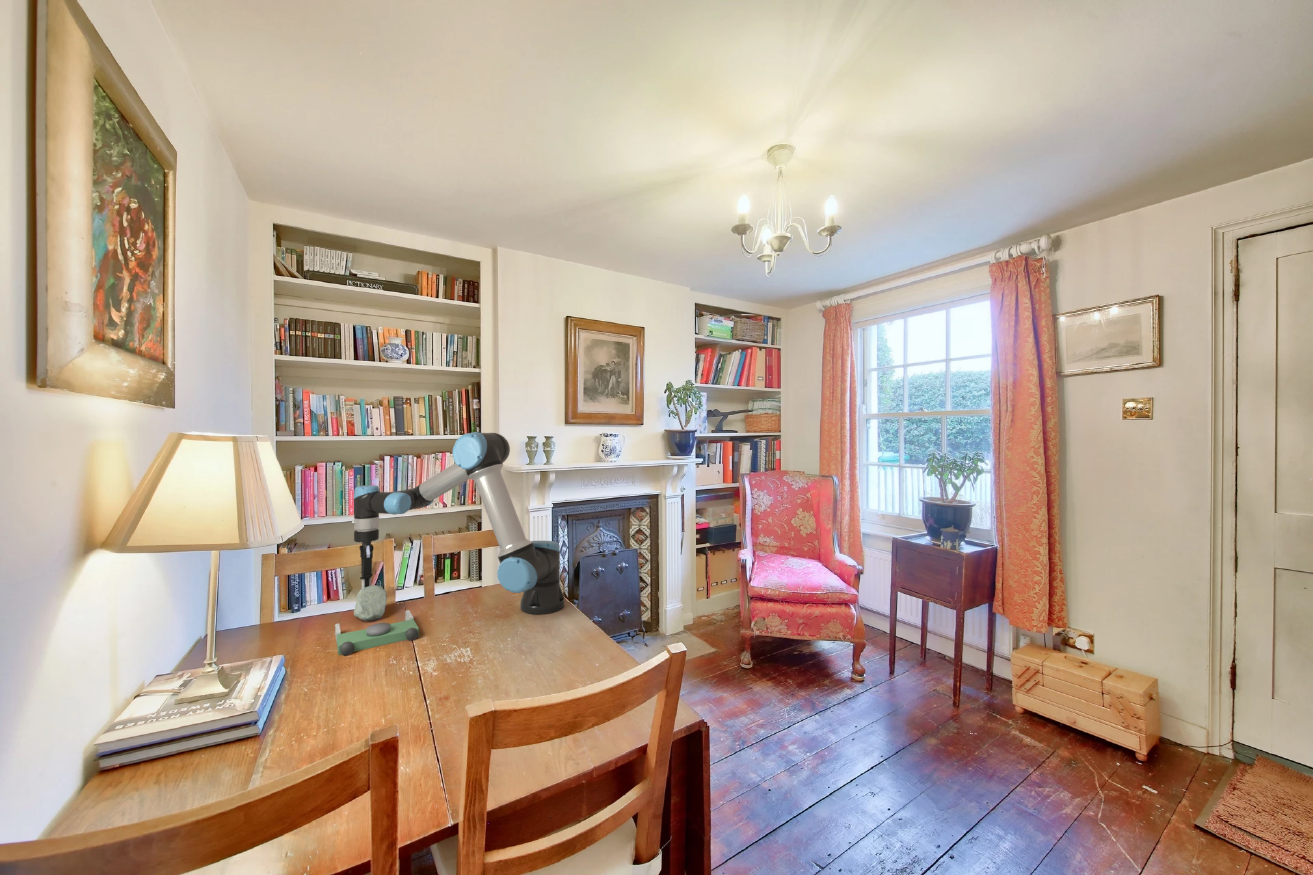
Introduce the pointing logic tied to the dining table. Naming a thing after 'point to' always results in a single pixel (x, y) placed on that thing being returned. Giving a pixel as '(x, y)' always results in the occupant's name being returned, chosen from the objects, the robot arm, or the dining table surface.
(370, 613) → the decorative stone
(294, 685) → the dining table surface
